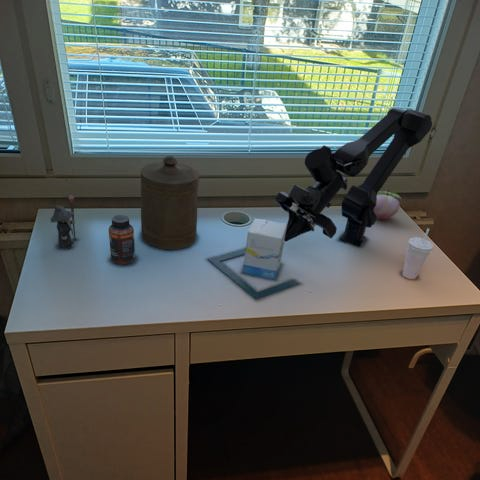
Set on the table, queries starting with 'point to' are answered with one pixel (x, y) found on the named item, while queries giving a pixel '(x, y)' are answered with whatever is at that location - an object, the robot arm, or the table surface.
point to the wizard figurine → (64, 224)
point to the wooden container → (169, 204)
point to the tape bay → (241, 283)
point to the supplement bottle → (121, 240)
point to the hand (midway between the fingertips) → (283, 240)
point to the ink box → (264, 248)
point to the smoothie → (416, 255)
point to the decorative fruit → (386, 204)
